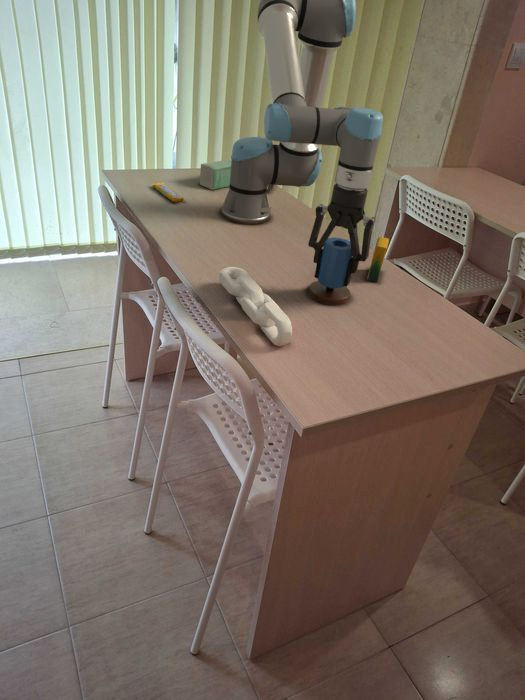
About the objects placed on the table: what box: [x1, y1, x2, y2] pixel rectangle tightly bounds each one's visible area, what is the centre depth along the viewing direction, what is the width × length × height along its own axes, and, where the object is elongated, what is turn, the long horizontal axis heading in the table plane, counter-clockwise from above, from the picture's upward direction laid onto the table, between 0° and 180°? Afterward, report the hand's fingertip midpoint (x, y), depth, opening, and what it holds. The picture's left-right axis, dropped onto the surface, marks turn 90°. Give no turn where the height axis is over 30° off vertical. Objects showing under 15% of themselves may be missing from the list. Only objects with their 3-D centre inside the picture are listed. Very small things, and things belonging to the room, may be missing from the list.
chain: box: [218, 266, 293, 347], centre depth 120 cm, size 30×6×6 cm, turn 26°
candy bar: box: [151, 181, 184, 203], centre depth 178 cm, size 17×4×2 cm, turn 34°
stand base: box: [308, 280, 351, 306], centre depth 133 cm, size 10×10×2 cm
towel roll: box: [317, 237, 352, 288], centre depth 128 cm, size 7×7×10 cm
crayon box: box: [366, 229, 390, 283], centre depth 142 cm, size 7×3×12 cm, turn 164°
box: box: [199, 159, 231, 191], centre depth 192 cm, size 7×14×8 cm, turn 137°
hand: (332, 279), depth 130 cm, fingers closed on towel roll, 7 cm apart
